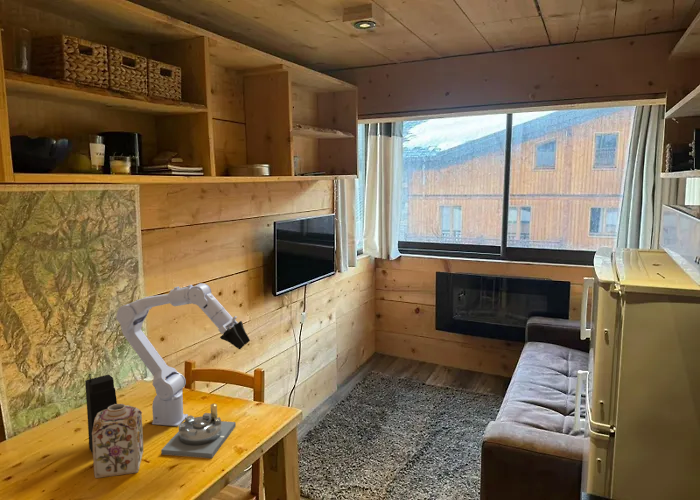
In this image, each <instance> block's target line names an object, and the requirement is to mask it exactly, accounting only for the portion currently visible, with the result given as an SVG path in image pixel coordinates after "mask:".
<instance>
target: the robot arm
mask: <svg viewBox="0 0 700 500" xmlns="http://www.w3.org/2000/svg"><path fill="white" fill-rule="evenodd" d="M169 304H170V305H171V306H173V307H180V306H185V305H190V304H193V305H195V306H198V308H199V309H201V310H202V312H203V313H204V314H205V315H206V316H207V318H209V320H210V321H211V322H212V323H213V324H214V326H216V327H217V330H218V332H219V333H220V334H221V336H220V337H219V339H221V340H224V341H226V342H228V343H229V344H231V345H232V346H234V347H235V348H237V350H242V349H243V347H244V346H245V345H247V344H248V343H249V342H250V341H251V340H250V338H249V336H248V334H247V332H246V330H245V328H244V327H245V326H244V324H243V322H242V321H241V320H240V321H239V322H238V321H237V320H236V319H237V318H238V316H237V315H235V316H234V317H233V316H232V315H231V314H230V313H229V311H227V310H226V308H225V307H224V305H222V304H221V303H220V301H219V300H218V299H217V298H216V297H215V296H214V294H213V293H212V289H211V287H210V285H208V284H207V283H201V282H199V283H198V284H197V283H196V285H193V284H189V285H187V286H184V287H180V286H175V287H173V289H170V291H169V292H168V293H167V294H165V293H164V294H158V295H157V294H156V295H149V296H145V297H143V298H140V299H135V300H134V301H132V302H130V303H126V304H123V305H121V306H120V307H118V309H117V311H116V317H115V320H116V321H117V322H118V323H119V324H120V329H121V333H122V335H123V337H124V338H125V339H126V341H127V342H128V343H129V345H130V346H131V347H132V349H133V350H134V352H135V353H136V355H138V358H140V360H141V361H142V363H143V364H144V365H145V367H146V368H147V369H148V371H149V372H150V374H151V375H152V377H153V379H152V386H153V387H154V389H155V390H154V391H155V393H156V395H155V396H154V398H153V401H152V404H151V405H152V407H151V409H152V422H151V424H152V425H157V426H171V427H172V426H173V427H179V424H182V423H183V422H185V417H188V416H189V414H188V413H184V402H183V400H184V398H183V389H184V387H186V378H185V376H184V375H183V374H182V373H180V372H178V370H177V369H176V368H175V367H172V366H169V365H167V363H166V361H165V360H164V359H163V357H162V356H161V355H160V354H159V352H158V351H157V350H156V348H155V346H154V345H153V344H152V342H151V341H150V340H149V338H148V337H147V335H146V334H145V333H144V332H143V330H142V327H143V324H144V321H145V319H146V318H147V316H148V314H149V312H150V310H151V309H152V308H154V307H159V306H164V305H169Z"/></svg>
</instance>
